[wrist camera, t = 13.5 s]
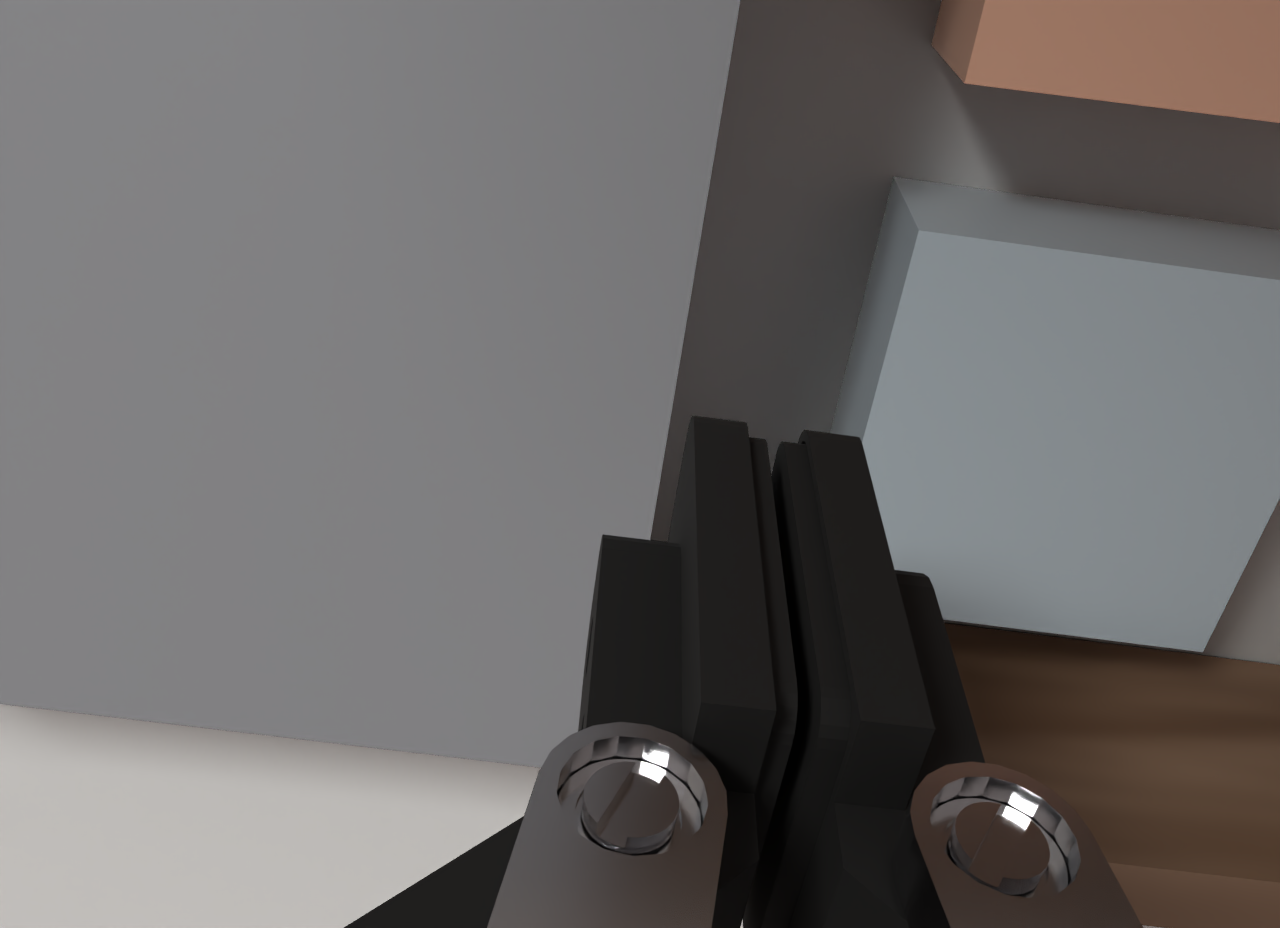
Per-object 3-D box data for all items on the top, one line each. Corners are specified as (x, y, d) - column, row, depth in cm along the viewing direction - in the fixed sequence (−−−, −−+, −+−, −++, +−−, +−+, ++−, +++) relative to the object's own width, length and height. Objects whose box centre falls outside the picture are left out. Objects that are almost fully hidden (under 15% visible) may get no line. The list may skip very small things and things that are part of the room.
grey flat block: (-711, -1308, 10) (-1414, -1846, 7) (877, -1015, 11) (971, -1373, 7) (-190, 504, 20) (-371, 660, 17) (622, 606, 21) (610, 776, 17)
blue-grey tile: (1382, 294, 15) (1294, 226, 17) (918, 230, 15) (889, 168, 17) (1202, 652, 18) (1148, 556, 20) (819, 603, 18) (805, 512, 20)
